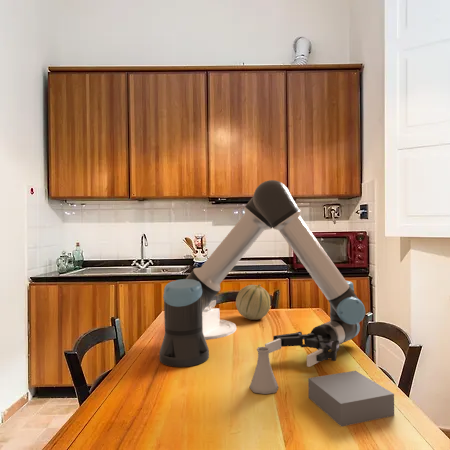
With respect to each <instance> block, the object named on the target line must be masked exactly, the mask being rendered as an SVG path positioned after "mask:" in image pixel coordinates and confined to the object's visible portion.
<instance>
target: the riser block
mask: <svg viewBox="0 0 450 450" xmlns="http://www.w3.org/2000/svg"><path fill="white" fill-rule="evenodd" d="M307 381H308V385H307V386H308V399H309V400H311V401H312V402H313V403H314V404H315V405H316V406H317V407H318V408H320V409H321V410H322V411H323V412H324V413H325V414H326V415H328V416H329V417H330V418H331V419H332V420H333V421H334V422H335V423H336V424H338V425H339V426H340V427H346V426H352V425H356V424H360V423H365V422H370V421H376V420H380V419H383V418H385V419H386V418H390V417H394V416H395V393H393V392H392V391H390V390H388V388H387V389H386V388H385V387H384V386H382V385H380V384H379V383H377V382H375V381H373V380H372V379H371V378H368V377H367V376H365V375H364V374H362V373H360V372H358V371H357V370H352V371H345V372H340V373H339V372H338V373H332V374H331V373H330V374H326V375H321V376H314V377H308V380H307Z"/></svg>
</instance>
